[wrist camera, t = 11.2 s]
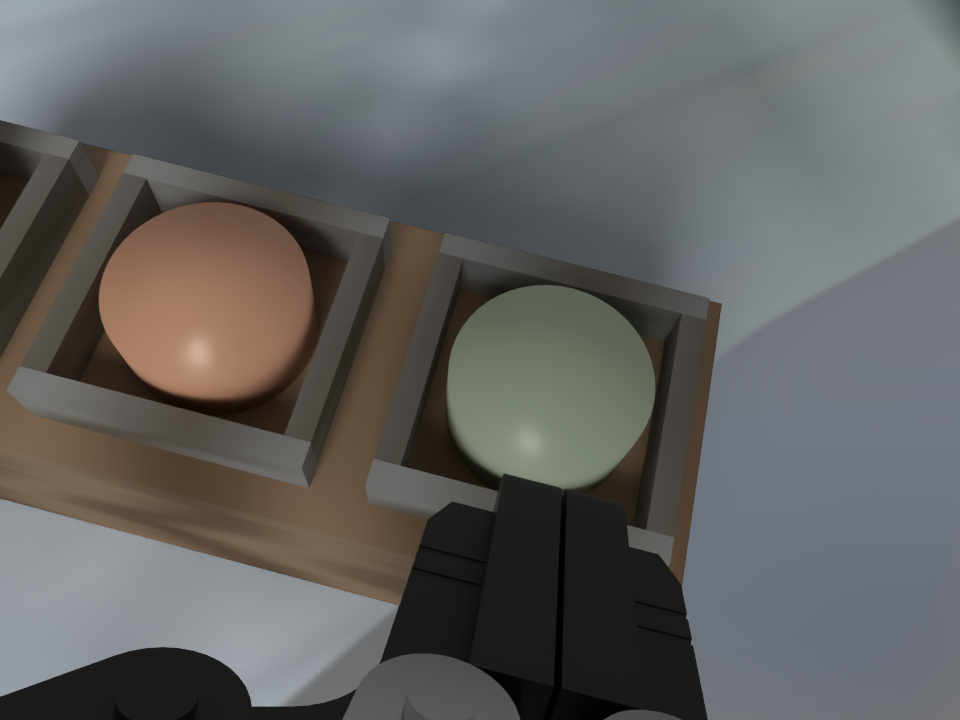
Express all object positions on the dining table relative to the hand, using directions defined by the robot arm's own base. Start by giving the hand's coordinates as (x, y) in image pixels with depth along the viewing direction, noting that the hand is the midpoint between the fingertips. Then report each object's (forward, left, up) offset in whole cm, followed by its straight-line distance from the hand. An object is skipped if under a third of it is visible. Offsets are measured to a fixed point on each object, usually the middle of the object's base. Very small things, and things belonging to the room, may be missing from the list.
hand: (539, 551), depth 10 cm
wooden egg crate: (-10, -1, -16) cm, 19 cm away
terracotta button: (-10, -1, -9) cm, 13 cm away
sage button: (-4, +4, -9) cm, 10 cm away
